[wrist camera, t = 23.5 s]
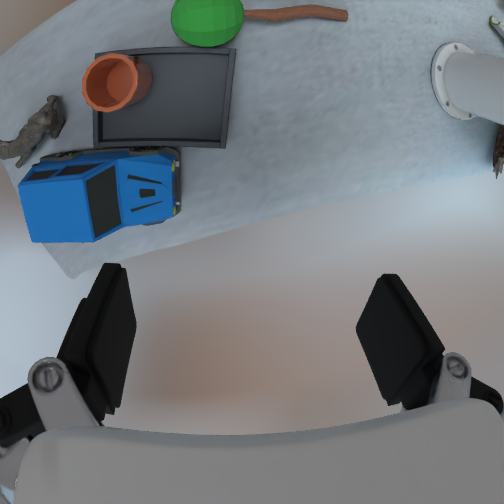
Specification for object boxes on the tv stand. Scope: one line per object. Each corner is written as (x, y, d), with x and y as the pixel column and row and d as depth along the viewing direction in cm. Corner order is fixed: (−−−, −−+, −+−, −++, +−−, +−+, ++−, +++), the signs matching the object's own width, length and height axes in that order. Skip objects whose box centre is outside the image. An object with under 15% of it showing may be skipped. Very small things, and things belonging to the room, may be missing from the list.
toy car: (182, 211, 39) (171, 252, 30) (60, 212, 36) (27, 248, 28) (181, 143, 34) (166, 167, 25) (50, 152, 31) (9, 178, 23)
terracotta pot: (154, 54, 27) (139, 50, 21) (151, 104, 30) (136, 110, 25) (106, 58, 26) (83, 57, 20) (104, 107, 29) (81, 114, 24)
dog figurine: (60, 86, 27) (29, 93, 21) (78, 120, 30) (49, 133, 24) (8, 137, 29) (-23, 152, 22) (24, 167, 32) (-5, 187, 26)
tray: (235, 50, 28) (236, 48, 26) (225, 144, 34) (225, 148, 33) (101, 54, 26) (94, 53, 24) (99, 143, 32) (93, 148, 30)
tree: (324, 2, 27) (168, 8, 24) (354, -19, 20) (166, -21, 17) (335, 49, 30) (175, 62, 27) (369, 35, 23) (175, 41, 20)
